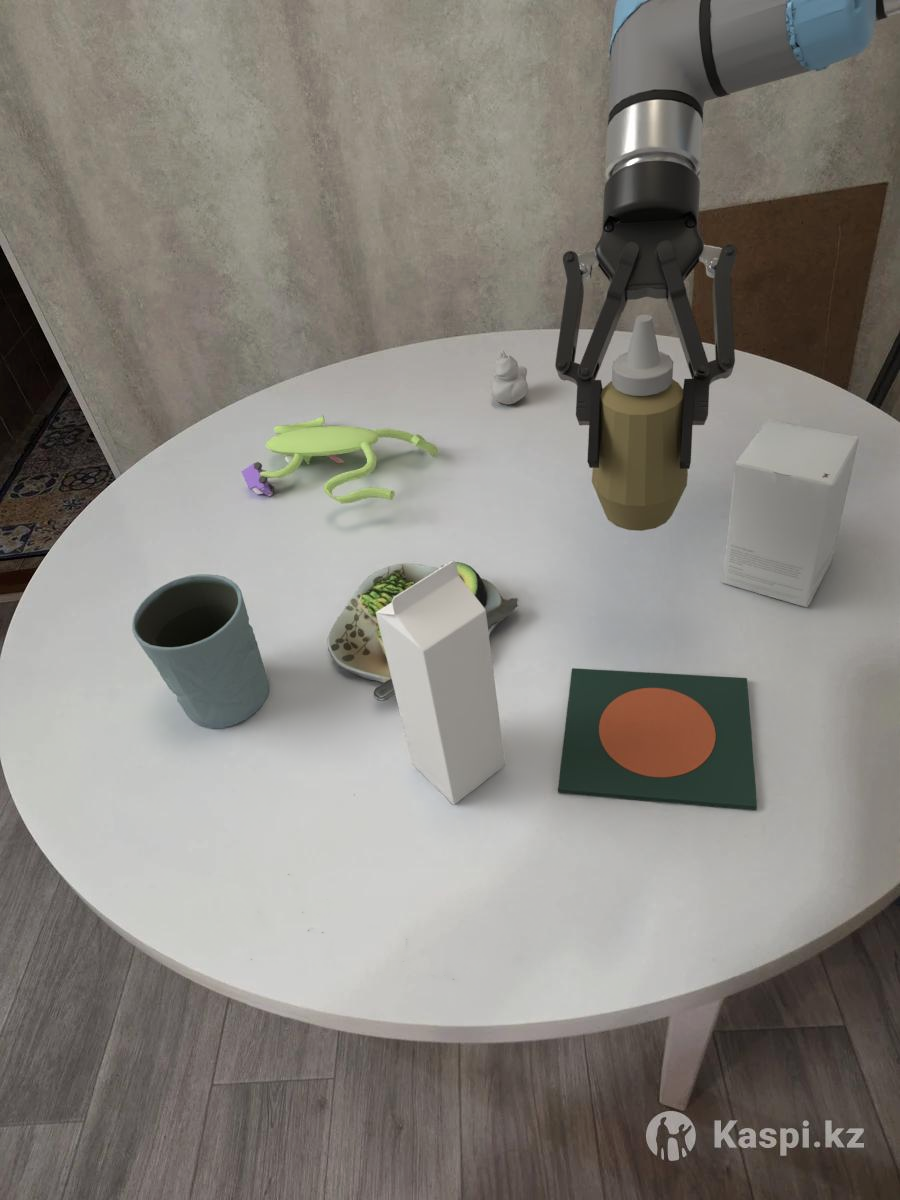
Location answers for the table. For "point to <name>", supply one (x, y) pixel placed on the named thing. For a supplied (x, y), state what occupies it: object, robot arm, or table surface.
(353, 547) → the table surface
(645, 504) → the squeeze bottle
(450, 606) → the milk
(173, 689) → the grey-green cup
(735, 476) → the white product box
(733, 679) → the mat
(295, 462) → the figurine
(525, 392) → the rubber duck
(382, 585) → the salad plate
